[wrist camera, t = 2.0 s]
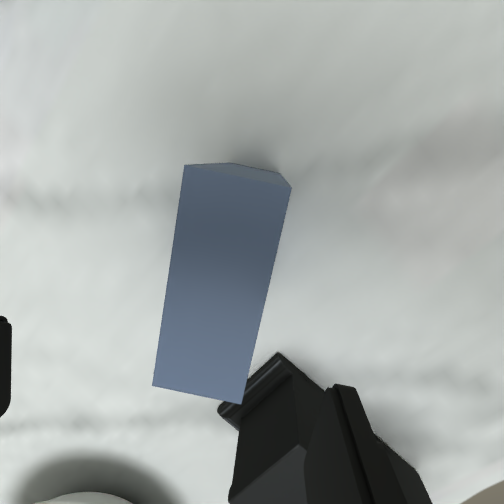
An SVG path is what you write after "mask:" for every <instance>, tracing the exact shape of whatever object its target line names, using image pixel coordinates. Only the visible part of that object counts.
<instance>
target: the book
mask: <svg viewBox="0 0 504 504" xmlns="http://www.w3.org/2000/svg"><path fill="white" fill-rule="evenodd" d="M291 189H292V187H291V186H290V185H289V184H288V182H287V181H286V180H285V179H284V178H283V176H282V175H281V174H280V173H276V172H271V171H266V170H261V169H257V168H252V167H247V166H243V165H238V164H233V163H214V164H193V165H184V172H183V179H182V186H181V192H180V199H179V206H178V213H177V220H176V226H175V233H174V240H173V247H172V254H171V261H170V267H169V274H168V281H167V288H166V295H165V302H164V308H163V315H162V322H161V329H160V336H159V342H158V349H157V356H156V363H155V370H154V377H153V383H152V386H155V387H160V388H165V389H170V390H175V391H179V392H184V393H189V394H194V395H198V396H203V397H208V398H213V399H217V400H222V401H227V402H232V403H237V404H241V403H242V399H243V395H244V390H245V386H246V382H247V377H248V373H249V369H250V365H251V360H252V356H253V352H254V347H255V343H256V339H257V335H258V330H259V326H260V322H261V317H262V313H263V309H264V305H265V300H266V296H267V292H268V287H269V283H270V279H271V275H272V270H273V266H274V262H275V257H276V253H277V249H278V245H279V240H280V236H281V232H282V227H283V223H284V219H285V215H286V210H287V206H288V202H289V197H290V193H291Z"/></svg>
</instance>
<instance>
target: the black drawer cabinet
mask: <svg viewBox="0 0 504 504" xmlns="http://www.w3.org/2000/svg"><path fill="white" fill-rule="evenodd" d="M324 395H325V392H324V391H323V390H322V389H321V388H319V386H317V385H316V384H315V383H314V382H313V381H311V380H310V379H309V378H308V377H307V376H306V375H305V374H304V373H302V372H301V371H300V370H299V369H297V368H296V367H295V366H294V365H293V364H292V363H291V362H289V361H288V360H287V359H286V358H285V357H283V356H282V355H281V354H280V353H277V354H276V355H275V356H274V357H272V358H271V359H270V360H269V361H268V362H267V363H266V364H265V365H264V366H263V367H261V368H260V369H259V370H258V371H257V372H256V373H255V374H254V375H253V376H252V377H251V378H249V379H248V380H247V382H246V386H245V390H244V395H243V399H242V403H241V404H237V403H232V402H227V401H224V402H223V403H222V404H221V405H220V406H219V407H218V409H217V413H219V415H220V416H221V417H222V418H223V419H224V420H226V421H227V422H228V423H229V424H231V425H232V426H233V427H234V428H236V429H237V430H238V431H239V436H238V444H237V451H236V459H235V466H234V474H233V481H232V485H231V487H230V490H229V495H228V502H229V503H230V504H307V496H306V488H305V480H304V460H305V456H306V453H307V450H308V446H309V443H310V440H311V437H312V434H313V430H314V427H315V424H316V421H317V417H318V414H319V411H320V408H321V404H322V401H323V398H324ZM374 436H375V435H374ZM375 439H376V441H379V442H380V443H381V444H383V446H384V448H385V450H386V452H387V455H388V457H389V460H390V462H391V464H392V467H393V469H394V472H395V474H396V477H397V479H398V481H399V484H400V486H401V489H402V491H403V493H404V496H405V498H406V501H407V503H408V504H432V502H431V500H430V498H429V495H428V493H427V491H426V489H425V487H424V485H423V483H422V480H421V478H420V476H419V474H418V473H417V472H416V471H415V470H414V469H413V468H412V467H411V466H410V465H408V464H407V463H406V462H405V461H404V460H403V459H401V458H400V457H399V456H398V455H397V454H396V453H394V452H393V451H392V450H391V449H390V448H389V447H388V446H386V445H385V444H384V443H383V442H382V441H381V440H379V439H378V438H377V437H376V436H375Z"/></svg>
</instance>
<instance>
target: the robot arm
mask: <svg viewBox="0 0 504 504" xmlns="http://www.w3.org/2000/svg"><path fill="white" fill-rule="evenodd" d="M11 349H12V326H11V324H10V323H8V321H7V319H6V318H5V317H4V316H0V417H1V416H2V415H3V414H4V413H5V412H6V410H7V409H8V407H9V404H10V400H11ZM304 480H305V488H306V496H307V504H408V503H407V501H406V498H405V496H404V493H403V491H402V489H401V486H400V484H399V481H398V479H397V477H396V474H395V472H394V469H393V467H392V464H391V462H390V460H389V457H388V455H387V452H386V450H385V448H384V446H383V444H381V443H380V442H379V441H376V439H375V436H374V434H373V431H372V429H371V426H370V424H369V421H368V418H367V416H366V413H365V411H364V408H363V406H362V403H361V401H360V398H359V396H358V393H357V391H356V389H355V388H354V387H350V386H345V385H340V384H334V386H333V388H329V387H328V388H327V389H326V391H325V395H324V398H323V401H322V404H321V408H320V411H319V414H318V417H317V421H316V424H315V427H314V430H313V434H312V437H311V440H310V443H309V446H308V450H307V453H306V456H305V460H304Z"/></svg>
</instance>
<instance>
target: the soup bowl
mask: <svg viewBox="0 0 504 504" xmlns="http://www.w3.org/2000/svg"><path fill="white" fill-rule="evenodd" d="M33 504H132V503H131V502H129V501H127V500H125V499H123V498H120V497H118V496H114V495H111V494H107V493H101V492H77V493H71V494H66V495H62V496H59V497H56V498H53V499H50V500H48V501H41V502H37V503H33Z"/></svg>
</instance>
